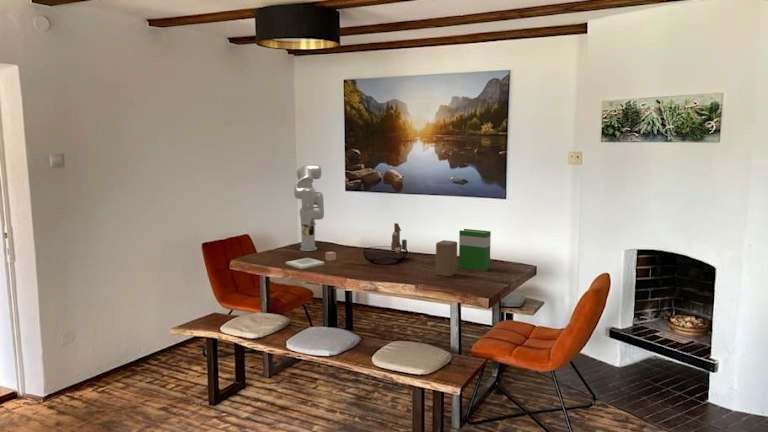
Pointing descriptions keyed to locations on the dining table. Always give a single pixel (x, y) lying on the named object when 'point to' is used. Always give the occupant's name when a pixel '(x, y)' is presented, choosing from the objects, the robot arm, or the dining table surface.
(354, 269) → the dining table surface
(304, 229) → the maple block
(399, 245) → the wooden toy
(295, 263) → the plate
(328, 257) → the terracotta block
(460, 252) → the green cereal box
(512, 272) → the dining table surface
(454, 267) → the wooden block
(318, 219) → the robot arm
